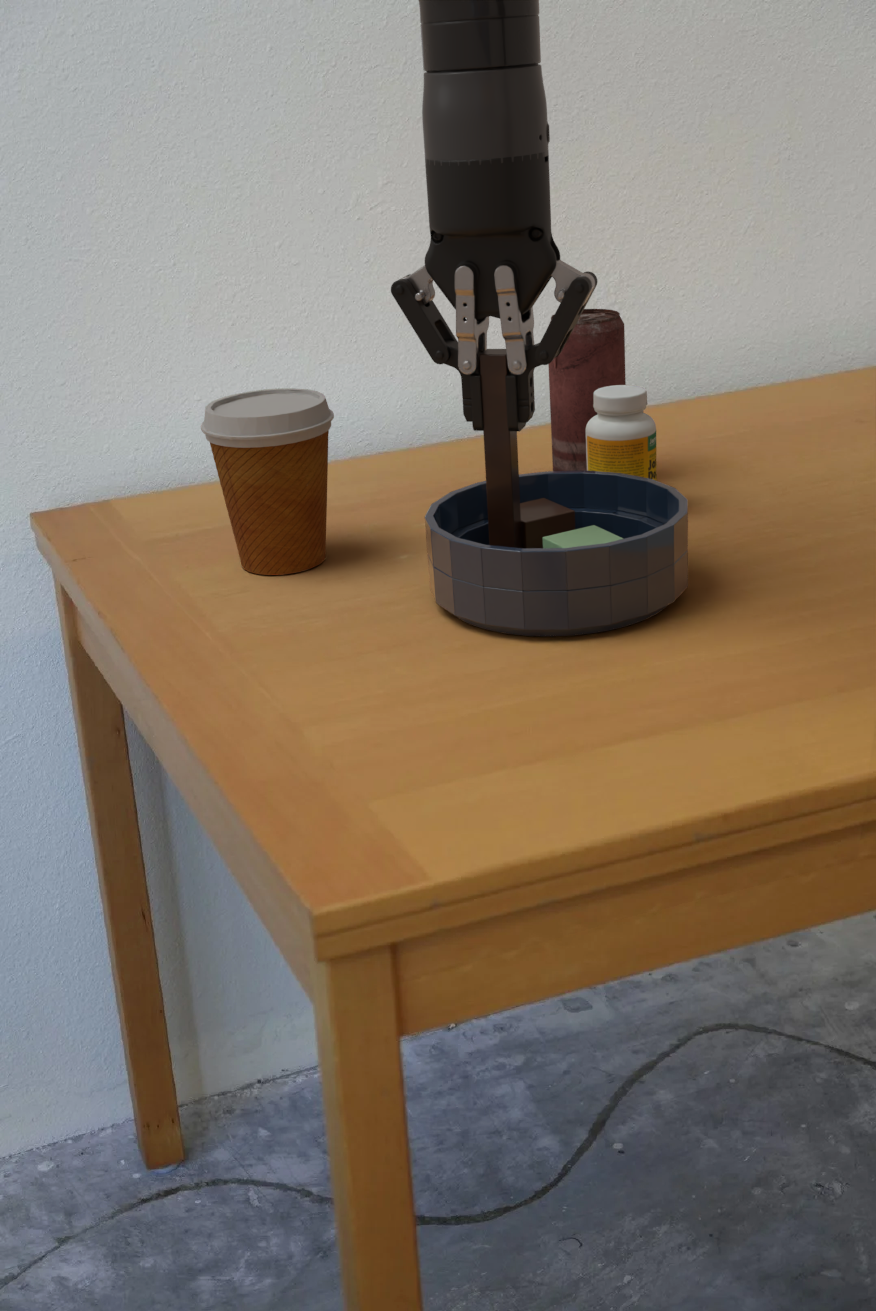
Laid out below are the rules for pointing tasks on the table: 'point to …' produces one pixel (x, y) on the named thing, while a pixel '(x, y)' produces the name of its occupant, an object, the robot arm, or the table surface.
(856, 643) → the table surface
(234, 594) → the table surface
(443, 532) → the bowl
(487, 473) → the stick
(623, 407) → the supplement bottle
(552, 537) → the green block
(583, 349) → the can
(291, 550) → the disposable coffee cup
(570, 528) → the walnut block
